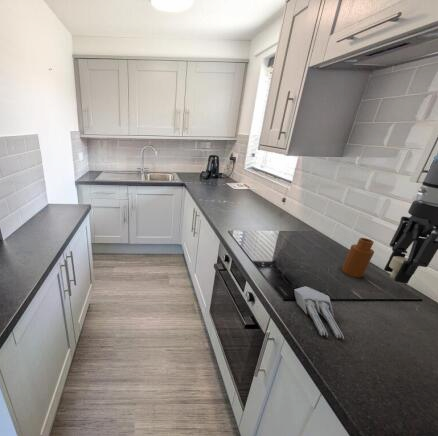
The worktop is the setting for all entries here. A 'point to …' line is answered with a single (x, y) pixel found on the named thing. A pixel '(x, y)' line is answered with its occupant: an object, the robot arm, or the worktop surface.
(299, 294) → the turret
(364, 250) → the bottle
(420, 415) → the worktop surface
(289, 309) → the worktop surface
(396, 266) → the bung
